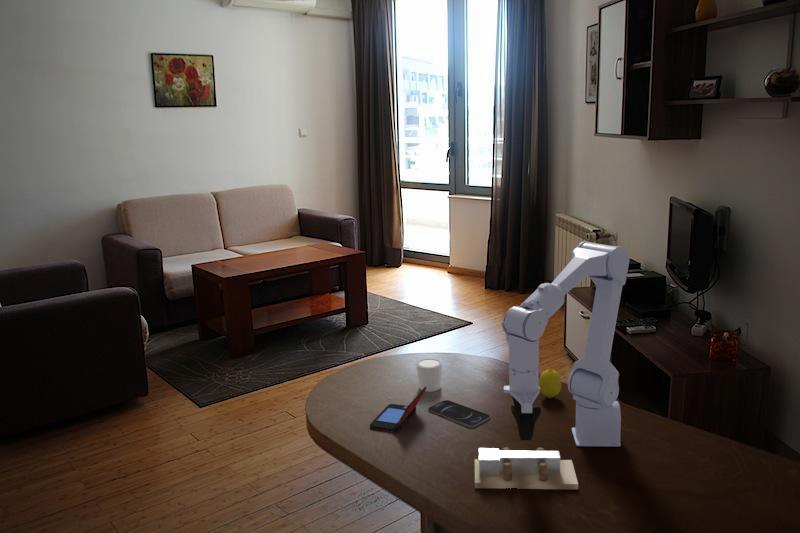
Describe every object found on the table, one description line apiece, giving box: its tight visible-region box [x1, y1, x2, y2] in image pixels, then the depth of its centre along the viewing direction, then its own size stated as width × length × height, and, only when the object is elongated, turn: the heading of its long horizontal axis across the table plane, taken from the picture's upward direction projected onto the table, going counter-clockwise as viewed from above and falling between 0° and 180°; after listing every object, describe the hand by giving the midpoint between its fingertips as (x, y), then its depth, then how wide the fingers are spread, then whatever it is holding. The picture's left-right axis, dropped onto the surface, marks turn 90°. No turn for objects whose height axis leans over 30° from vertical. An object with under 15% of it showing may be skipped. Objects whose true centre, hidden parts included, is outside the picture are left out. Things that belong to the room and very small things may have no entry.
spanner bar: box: [478, 447, 561, 477], centre depth 137 cm, size 16×5×4 cm, turn 84°
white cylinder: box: [416, 358, 443, 392], centre depth 182 cm, size 7×7×7 cm
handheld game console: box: [369, 387, 427, 434], centre depth 164 cm, size 12×11×7 cm
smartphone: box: [427, 399, 491, 429], centre depth 166 cm, size 8×1×15 cm
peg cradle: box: [474, 447, 579, 490], centre depth 137 cm, size 20×9×4 cm, turn 84°
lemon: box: [539, 368, 562, 399], centre depth 171 cm, size 6×6×8 cm
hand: (524, 430), depth 136 cm, fingers open, 7 cm apart
